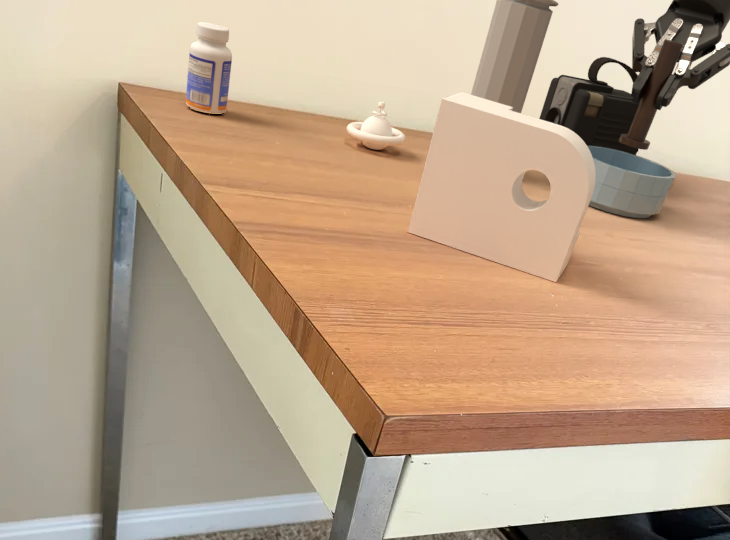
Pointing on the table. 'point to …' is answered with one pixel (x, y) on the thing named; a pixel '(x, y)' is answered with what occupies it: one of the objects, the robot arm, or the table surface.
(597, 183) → the bowl
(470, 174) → the white holed block
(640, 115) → the stirring stick
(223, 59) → the pill bottle
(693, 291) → the table surface
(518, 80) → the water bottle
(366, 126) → the ring around a ball
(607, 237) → the table surface
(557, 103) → the camera
